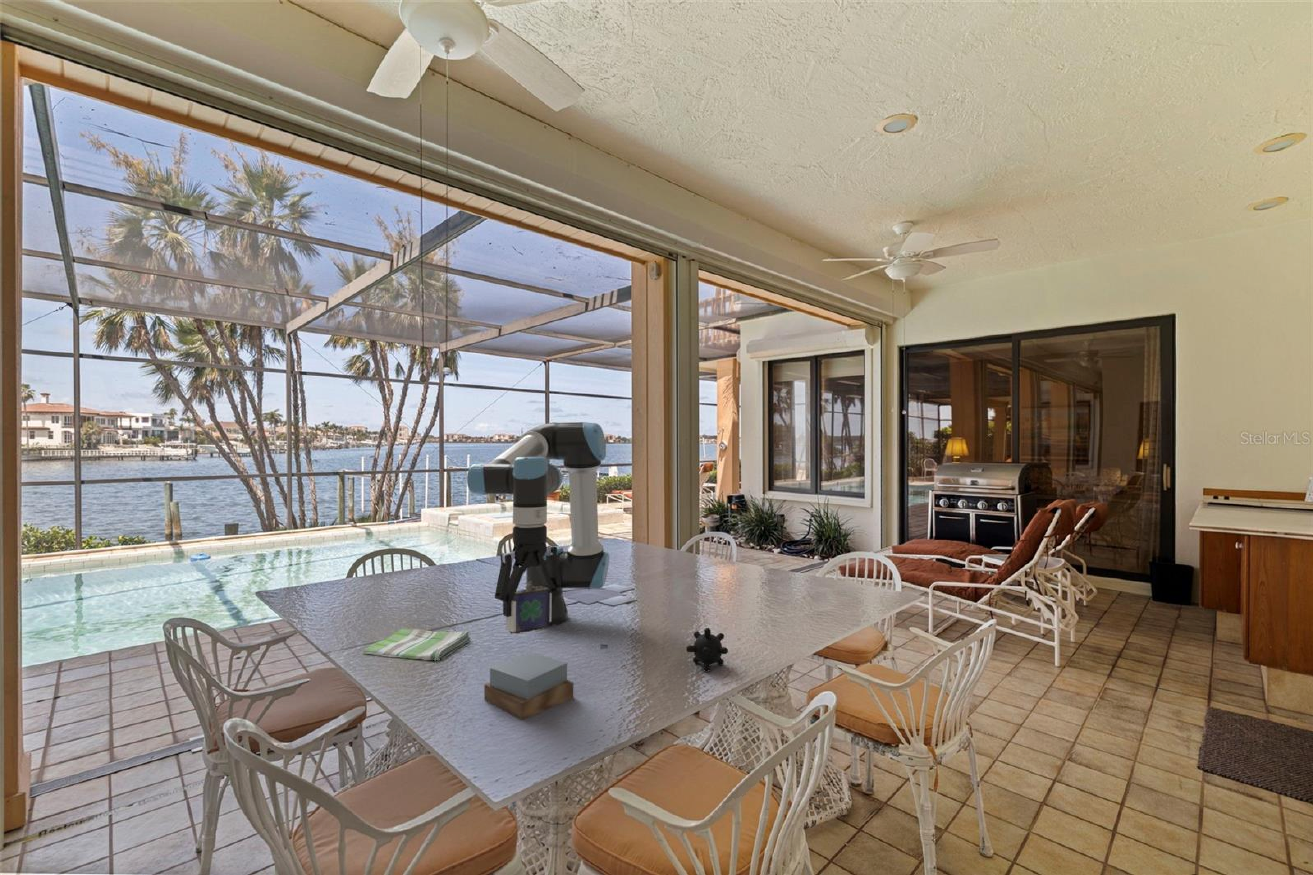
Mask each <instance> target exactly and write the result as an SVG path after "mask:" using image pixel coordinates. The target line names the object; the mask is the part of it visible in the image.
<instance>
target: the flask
mask: <svg viewBox="0 0 1313 875" xmlns="http://www.w3.org/2000/svg"><path fill="white" fill-rule="evenodd" d="M531 583H532V582H531V581H529V582H527V586H525V589H519V590H516V593H515V595H514V598H513V601H516V632H511V631H508V632H509V633H510V634H511V635H512V634H517V635H518V634H521V633H529V632H532V631H533V632H534V631H538V630H544V629H545V630H547V629H549V628H550V626H549V613H550V607H549V606H550V589H549V588H547V587H542V586H539V587H541V588H537V587H538V586H537V587H534V586H533V585H532V584H531Z"/></svg>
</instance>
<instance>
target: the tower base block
mask: <svg viewBox="0 0 1313 875" xmlns="http://www.w3.org/2000/svg"><path fill="white" fill-rule="evenodd" d="M483 695H484V696H483V697H484V701H486V702H488V703H489V704H492V705H493V706H495V707H498V709H501V710H502V711H503V712H507V713H508V714H509V715H512V716H513V717H515V718H517V719H519V720H520V721H522V720H524V719H527V718H529V717H531V716H534V715H537V714H539V713H541V712H543V711H546V710H547V709H549V708H552V707H554V706H557V705H559V704H562V703H563V702H566V701H568V700H570V699H573V698H574V682H573V681H571V680H569V679H567V681H565V682H563V683H561V684H559V685H557V686H555V687H553V688H551V689H549V690H547V691H545V692H543V693H541V694H539V695H537V696H535V697H533V698H531V699H529V700H527V699H524V698H521V697H518V696H516V695H513V694H510V693H508V692H505V691H502V690H500V689H497V688H494V687H492V686H490V682H487V683H484V694H483Z"/></svg>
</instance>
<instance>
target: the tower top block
mask: <svg viewBox="0 0 1313 875" xmlns="http://www.w3.org/2000/svg"><path fill="white" fill-rule="evenodd" d="M567 680H568V662H566V661H562V660H559V659H556V658H553V657H549V656H547V655H542V654H539V653H538V652H532V651H528V652H525V653H523V654H521V655H519V656H516V657H513V658H511V659H509V660H506V661H504V662H501V663H498V664H496V665H494V666H491V667H489V683H490V686H492V687H494V688H497V689H500V690H502V691H505V692H508V693H510V694H513V695H516V696H518V697H521V698H524V699H527V700H529V699H531V698H533V697H535V696H537V695H539V694H541V693H543V692H545V691H547V690H549V689H551V688H553V687H555V686H557V685H559V684H561V683H563V682H565V681H567Z"/></svg>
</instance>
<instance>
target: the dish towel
mask: <svg viewBox="0 0 1313 875" xmlns="http://www.w3.org/2000/svg"><path fill="white" fill-rule="evenodd" d="M469 633H470V631H469V630H465V631H455V632H450V631H429V630H426V629H415V628H400V629H398V630H397V631H396V632H395V633H393V634H392V635H389V636H388V637H387V638H385V639H383V640H380V641H377V642H374V643H372V644H371V645H369V646H368V647H366V648H365V650H364V651H363V652H373V653H379V654H383V655H395V656H399V657H404V658H411V659H427V660H434V661H433V662H437V661H441V660H440V659H442V660H444V658H447V657H448V656H449V655H451V654H453V653H454V652H455V651H456V650H459V649H460V648H461V647H464V646H465V645H466V643H469V642H470V641H471V636H470V634H469ZM446 656H447V657H446ZM411 659H410V660H411ZM436 660H437V661H436Z"/></svg>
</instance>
